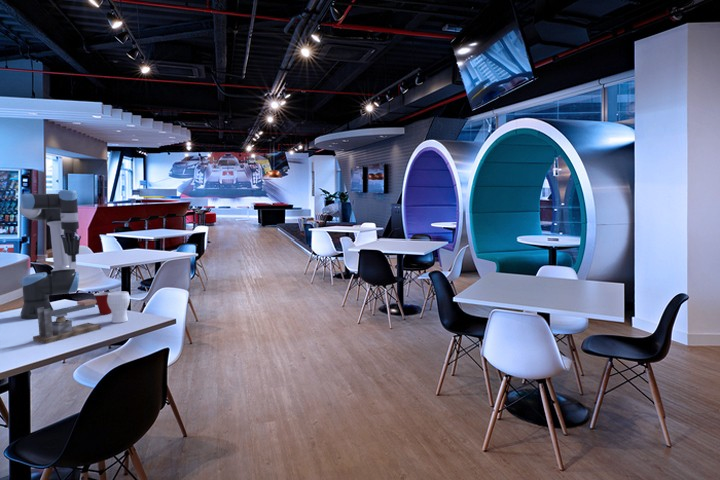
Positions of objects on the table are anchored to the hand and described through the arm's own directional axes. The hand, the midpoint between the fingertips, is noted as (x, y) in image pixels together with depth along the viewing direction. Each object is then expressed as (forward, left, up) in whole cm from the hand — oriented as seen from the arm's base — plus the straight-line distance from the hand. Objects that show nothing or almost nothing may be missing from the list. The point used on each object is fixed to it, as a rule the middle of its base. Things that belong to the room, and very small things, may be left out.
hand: (72, 268), depth 237 cm
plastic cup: (-11, +23, -30) cm, 40 cm away
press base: (+11, -11, -30) cm, 34 cm away
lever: (+11, -9, -20) cm, 25 cm away
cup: (+11, +16, -30) cm, 36 cm away
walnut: (+11, -14, -22) cm, 28 cm away
